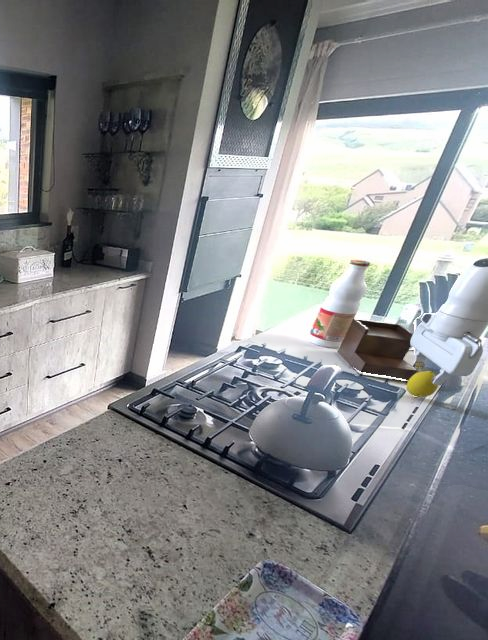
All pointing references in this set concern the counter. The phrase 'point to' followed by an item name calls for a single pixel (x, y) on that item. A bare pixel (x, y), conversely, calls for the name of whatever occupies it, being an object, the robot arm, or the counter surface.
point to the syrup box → (409, 316)
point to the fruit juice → (340, 306)
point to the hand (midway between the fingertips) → (425, 375)
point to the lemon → (421, 384)
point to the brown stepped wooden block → (378, 348)
